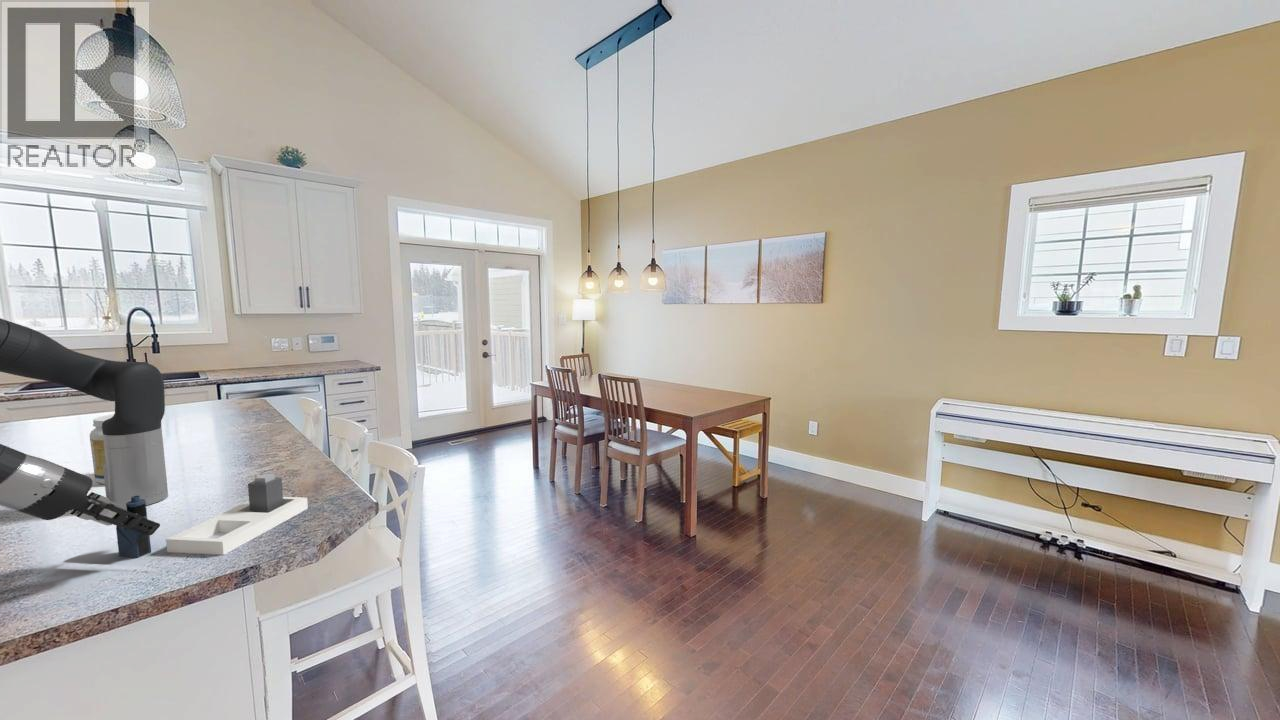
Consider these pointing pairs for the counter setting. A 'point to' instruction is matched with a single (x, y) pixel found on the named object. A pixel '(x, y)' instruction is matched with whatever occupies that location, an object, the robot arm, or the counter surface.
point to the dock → (233, 528)
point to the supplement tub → (98, 448)
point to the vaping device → (133, 533)
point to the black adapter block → (265, 493)
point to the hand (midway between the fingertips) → (147, 526)
